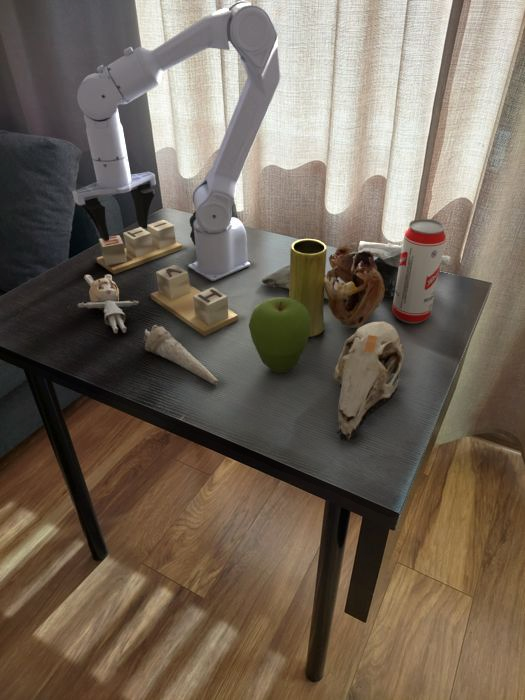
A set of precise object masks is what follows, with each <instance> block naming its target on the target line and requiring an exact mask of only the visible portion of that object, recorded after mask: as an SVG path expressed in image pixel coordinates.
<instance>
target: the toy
mask: <svg viewBox="0 0 525 700" xmlns="http://www.w3.org/2000/svg"><path fill="white" fill-rule="evenodd" d="M83 279H84V280H85V282H86V283H87V285H89V286H90V288H89V291H88V295H89V300H90V302H89V301H87V302H86V303H84V302H82V303H78V304H77V308H87V309H99V310H100V311H103V314H104V324H105V325H107V326H111V328H112V331H113V333H114V334H118V332H119V328H120V330H121V332H122V333H124V334H125V333H126V332H127V327H126V326H125V324H124V323H125V321H126V319H127V318H126V314H125V312H123V309H121V308H123V307H131V306H138V304H139V301H138V300H135V299H134V300H133V301H131V300H123V301H119V299H120V289H119V288H118V286H117V284H116V282H115V281H113V276H112V274H110V273H109V274H108V273H107V274H104V277H102V278H99V279H96V280H94V278H93V277H92V275H90V274H85V275H84V277H83ZM117 326H118V327H117Z"/></svg>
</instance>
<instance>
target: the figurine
mask: <svg viewBox="0 0 525 700" xmlns="http://www.w3.org/2000/svg"><path fill="white" fill-rule="evenodd" d="M402 242H403V239H402ZM401 250H402V244H401V245H398V244H394V243H393V244H391V243H390V242H389V243H387V244H386V243H384V242H383V243H381V242H368V241H364V240H360V241H359V244H358V250H357V251H358V252H357V253H359V252H362V251H369V252H371V253H373V254H377V255H381V256H382V257H388V256H393V255H395V254H399V253H401ZM453 264H454V263H453V262H452V258H451V256H450V255H443V256H442V261H441V266H442V265H443V266H445V267H447V268H451V267H452V266H454V265H453Z"/></svg>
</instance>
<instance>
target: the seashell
mask: <svg viewBox="0 0 525 700" xmlns="http://www.w3.org/2000/svg"><path fill="white" fill-rule="evenodd" d="M143 341H144V342H145V344H144V349H145V350H146V351H147V352H150V353H152V354H153V355H154V354H155V355H157V356H159V357H162V358H164V359H166V360H168V361H170V362H173V363H175V364H176V365H178V366H180V367H181V368H184V369H185V370H187V371H189V372H191V373H192V374H195V376H197V377H200V378H201V379H203V380H205V381H207V382H208V383H210V384H212V385H214V386H217V384H218V383H219V380H218V379H217V378H216V377H215V376H214V375H213V374H212V372H211V371H209V369H207V368H206V367H205V365H203V364H202V363H201V362H200V361H199V360H198V359H196V357H194V355H192V354H191V352H190V351H189V350H187V349H186V347H185V346H182V343H180V342H179V341H178V340H177V339H175V337H174V336H173V335H172V334H171V333H170V332H169V331H168V330H166V329H165V327H164V326H158V325H156V324H154V325H152V327H151V330H150V331H148V329H147V328H146V329H145V330H144V336H143Z"/></svg>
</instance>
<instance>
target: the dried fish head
mask: <svg viewBox="0 0 525 700" xmlns="http://www.w3.org/2000/svg"><path fill="white" fill-rule="evenodd" d="M357 244H358V243H357V242H353V243H347V244H343V245H340V246H338V247H337V248H336V249H335V250H334V252H333V254H330V255H329V256H328V262H329V265H330V268H331V269H330V270H328V271H327V272H326V275H327V276H326V279H325V291H326V293H327V295H328V299H327V304H328V308H329V309H330V311H331V314H332V315H333V317H334V318H335V319H336V320H338V321H339V322H340V323H341V325H342V326H345V327H346V328H353V329H354V328H356V329H358V328H360V327H362V326H364V325H365V323H366V322H367V321H368V320H369V319H370V316H371V315H372V314H373V313H374V312H375V311H376V310H377V308H379V307H380V304H382V301H383V299H384V298H385V295H384V292H385V286H384V282H383V279H382V277H381V275H380V273H379V272H378V271H377V266H376V264H375V262H374V260H375V259H374V257H375V256H374V253H371V252H369V251H362V252H359V250H358V249H359V246H358V245H357ZM350 247H351V248H350ZM355 251H358V252H359V253H358V252H355ZM339 279H340V280H341V281H342V282H340V280H339ZM344 297H346V298H348V299H344ZM347 300H348V301H347Z"/></svg>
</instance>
